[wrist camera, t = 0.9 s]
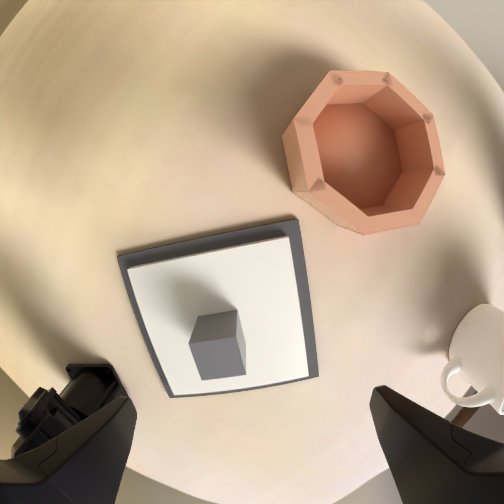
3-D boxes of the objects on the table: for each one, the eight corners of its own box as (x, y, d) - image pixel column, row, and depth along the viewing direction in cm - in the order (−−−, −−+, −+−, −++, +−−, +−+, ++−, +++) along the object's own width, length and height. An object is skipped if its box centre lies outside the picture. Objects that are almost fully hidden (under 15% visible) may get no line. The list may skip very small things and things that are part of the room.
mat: (170, 395, 23) (169, 397, 22) (119, 255, 20) (117, 256, 19) (317, 373, 22) (318, 376, 22) (297, 218, 20) (298, 219, 19)
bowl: (299, 232, 20) (316, 244, 15) (272, 100, 18) (281, 73, 13) (412, 211, 20) (449, 217, 15) (389, 94, 18) (421, 75, 13)
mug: (421, 339, 22) (483, 399, 12) (493, 288, 22) (555, 321, 11) (423, 392, 24) (467, 448, 14) (489, 343, 23) (538, 380, 13)
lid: (175, 389, 22) (164, 425, 17) (131, 266, 20) (102, 286, 15) (307, 370, 22) (319, 406, 17) (286, 235, 19) (300, 248, 15)
